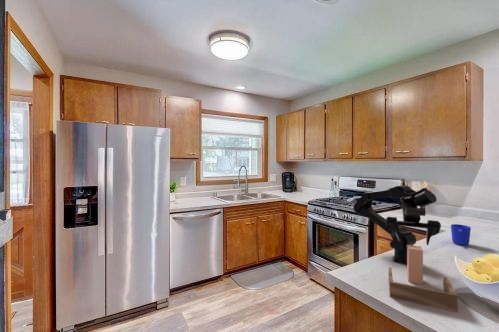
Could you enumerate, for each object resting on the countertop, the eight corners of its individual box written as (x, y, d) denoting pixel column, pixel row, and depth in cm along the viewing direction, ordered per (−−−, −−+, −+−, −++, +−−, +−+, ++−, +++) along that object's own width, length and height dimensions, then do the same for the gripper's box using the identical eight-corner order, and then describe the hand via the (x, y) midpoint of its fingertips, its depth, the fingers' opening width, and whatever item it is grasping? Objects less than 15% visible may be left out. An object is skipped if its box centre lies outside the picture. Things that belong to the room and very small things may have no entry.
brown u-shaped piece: (388, 279, 93) (388, 267, 93) (446, 291, 84) (446, 277, 84) (389, 296, 82) (389, 282, 82) (457, 311, 73) (457, 295, 73)
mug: (449, 246, 128) (450, 227, 127) (451, 240, 137) (451, 223, 136) (470, 250, 122) (470, 230, 122) (470, 243, 131) (470, 225, 131)
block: (407, 276, 95) (407, 244, 95) (420, 279, 93) (420, 246, 93) (408, 281, 91) (408, 248, 91) (422, 284, 89) (422, 250, 89)
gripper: (386, 198, 104) (387, 229, 94) (439, 201, 95) (446, 236, 85) (385, 212, 111) (386, 243, 101) (435, 216, 102) (441, 250, 93)
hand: (413, 243), depth 95 cm, fingers open, 9 cm apart
